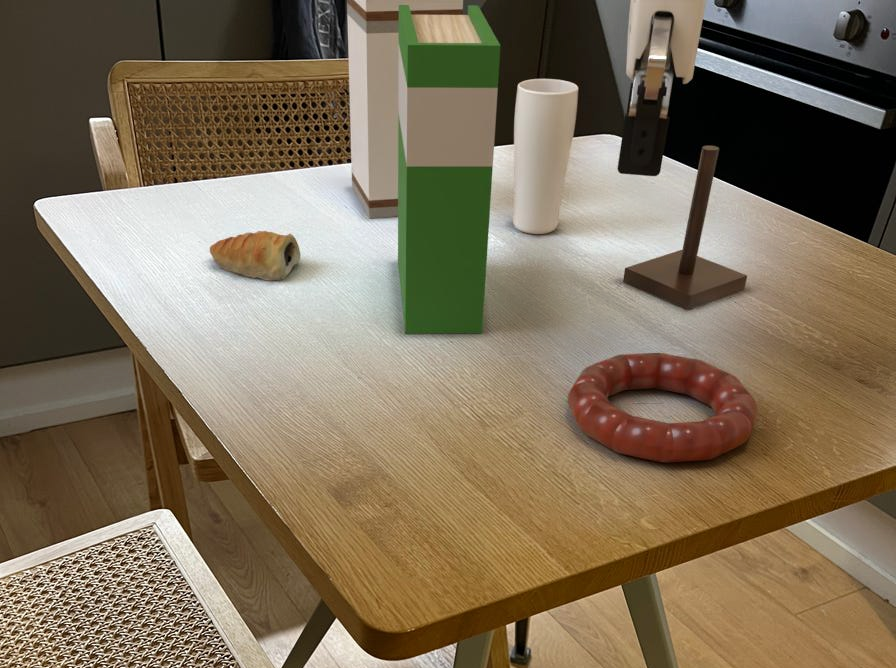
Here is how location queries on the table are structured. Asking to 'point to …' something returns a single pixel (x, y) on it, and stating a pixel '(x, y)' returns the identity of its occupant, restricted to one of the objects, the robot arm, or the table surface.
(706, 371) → the ring
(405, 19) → the hardback book
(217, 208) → the table surface
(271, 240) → the pastry
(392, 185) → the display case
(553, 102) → the drinking glass
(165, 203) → the table surface
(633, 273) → the peg stand
